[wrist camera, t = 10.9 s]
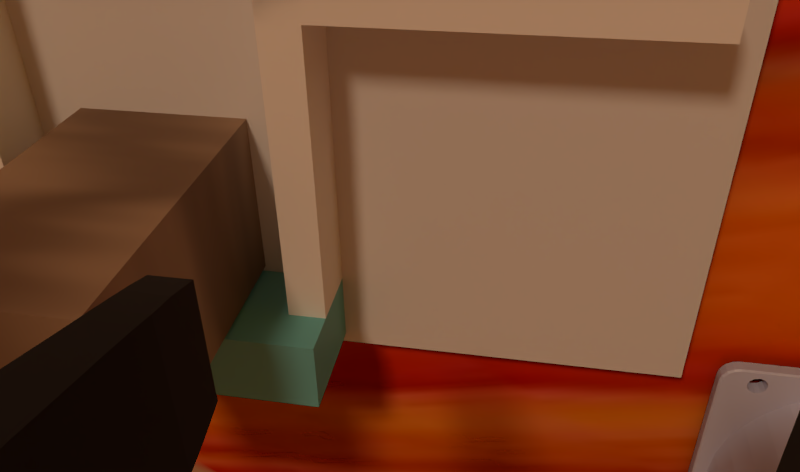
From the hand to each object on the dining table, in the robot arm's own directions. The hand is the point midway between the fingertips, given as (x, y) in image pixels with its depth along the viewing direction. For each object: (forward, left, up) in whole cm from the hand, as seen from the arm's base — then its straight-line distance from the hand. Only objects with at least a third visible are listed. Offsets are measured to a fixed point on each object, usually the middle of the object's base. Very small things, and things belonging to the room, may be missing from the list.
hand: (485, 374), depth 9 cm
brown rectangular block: (+9, +4, -10) cm, 14 cm away
